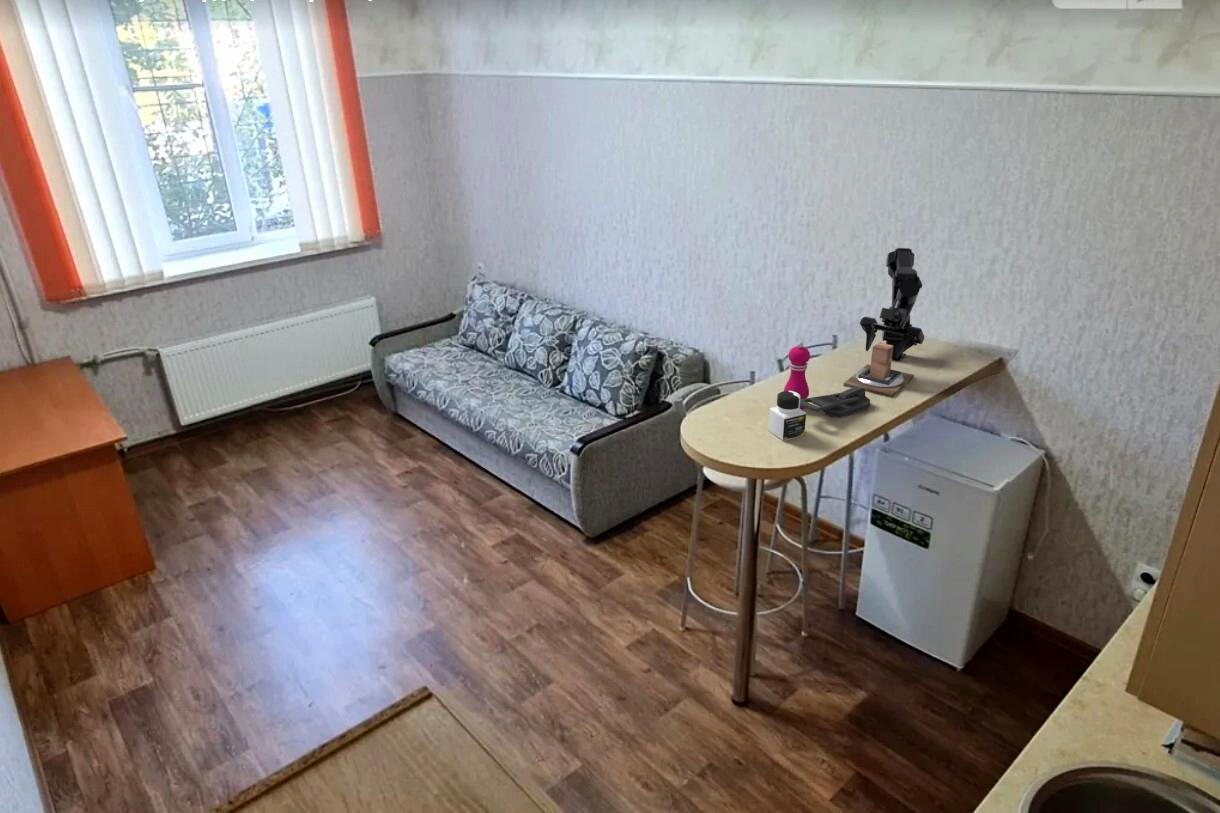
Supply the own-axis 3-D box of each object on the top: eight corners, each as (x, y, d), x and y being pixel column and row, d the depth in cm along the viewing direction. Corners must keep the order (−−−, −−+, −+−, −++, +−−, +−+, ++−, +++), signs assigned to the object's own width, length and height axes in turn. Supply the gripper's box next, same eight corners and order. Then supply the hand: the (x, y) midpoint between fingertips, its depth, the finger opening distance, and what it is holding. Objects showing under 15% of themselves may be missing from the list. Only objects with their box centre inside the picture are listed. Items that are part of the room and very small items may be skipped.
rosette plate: (866, 366, 249) (867, 361, 248) (910, 376, 241) (910, 371, 240) (848, 381, 239) (848, 375, 238) (892, 392, 231) (893, 386, 230)
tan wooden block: (875, 372, 242) (879, 342, 238) (889, 375, 240) (893, 345, 235) (869, 376, 239) (872, 346, 235) (883, 380, 237) (887, 350, 232)
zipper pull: (792, 399, 216) (852, 376, 229) (791, 420, 219) (849, 396, 232) (817, 410, 210) (877, 386, 222) (815, 432, 212) (874, 407, 225)
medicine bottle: (782, 441, 208) (785, 401, 203) (767, 430, 214) (770, 391, 209) (804, 436, 210) (808, 396, 205) (789, 425, 216) (792, 386, 211)
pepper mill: (791, 398, 232) (796, 335, 223) (812, 405, 227) (818, 341, 218) (777, 406, 227) (782, 342, 219) (799, 413, 223) (804, 348, 214)
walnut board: (867, 367, 251) (867, 364, 250) (913, 377, 242) (913, 374, 242) (843, 385, 238) (843, 382, 238) (891, 397, 230) (891, 394, 229)
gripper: (865, 291, 237) (845, 335, 235) (926, 302, 226) (905, 349, 223) (874, 309, 246) (854, 351, 244) (932, 321, 234) (912, 365, 232)
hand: (880, 354), depth 235 cm, fingers open, 9 cm apart
